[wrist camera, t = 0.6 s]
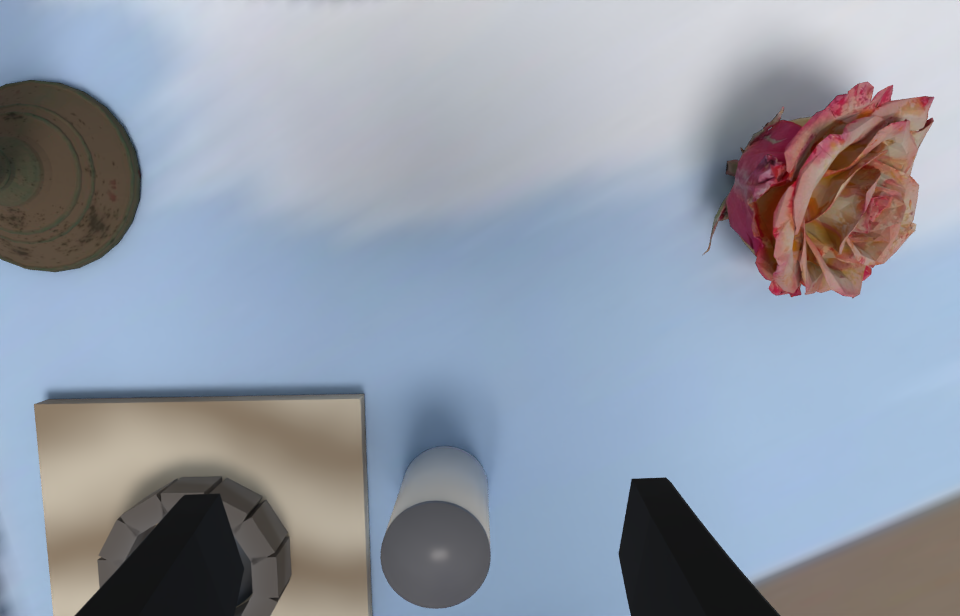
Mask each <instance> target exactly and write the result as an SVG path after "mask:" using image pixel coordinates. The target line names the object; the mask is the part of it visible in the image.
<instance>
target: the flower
mask: <svg viewBox="0 0 960 616" xmlns="http://www.w3.org/2000/svg"><path fill="white" fill-rule="evenodd" d="M873 89H874V87H873V86H872V85H871V84H870V83H869V82H864V83H859V84H857V85H856V86H854V87H853V88H852V89H851V90H849V91H848V94H843V95H838V96H836V97H835V98H834V100H833V101H832V102H831V103H830V104H829V105H828V106H827V107H826V108H825V109H824V110H822V111H819V112H817V113H816V114H815V115H814V116H812V117H806V118H799V119H795V120H791V121H785V120H780V119H781V115H782V114H783V111H784V107H782V109H781V111H780V112H779V113H778V114H777V115H776V117H775V118H774V119H773V120H772V121H771V122H770V123H769V122H768V123H769V124H768V123H767V124H766V125H765V127H763V126H762V127H763V130H761V131H759V132H757V133H755V134H754V135H753V136H752V138H751V140H750V142H749V143H748V145H747V147H746V149H745V150H743V149H742V148H741V151H742V156H741V158H740V160H730V161H727V167H726V174H728V175H731V176H734V177H735V183H734V185H733V187H732V189H731V191H730V193H729V194H728V196H727V197H726V198H725V199H724V201H723V203H722V204H721V206H720V208H719V210H718V212H717V214H716V216H715V218H714V222H713V227H712V233H711V238H710V243H709V247H708V250H707V251H706V252H708V251H709V249H710V245H711V239H712V236H713V234H714V231H715V229H716V226H717V224H718V221H723V220H726V219H729V222H730V226H731V227H732V228H733V229H734V230H735V231H736V232H737V233H738V234H739V236H740V237H741V239H742V240H743V242H744V243H745V244H746V245H747V247H748V248H749V249H750V250H751V251H752V252H753V253H754V255H755V256H756V257H757V259H756V262H755V263H756V265H757V268H758V270H759V272H760V273H761V275H762V276H763V277H764V278H765V279H766V280H770V281H772V282H771V284H770V286H769V290H770V291H771V292H772V293H773V294H775V295H783V294H790V296H791V297H793V296H798V295H801V291H800V286H801V284H802V285H804V286H805V287H806V293H805V295H807V294H812V293H815V292H816V291H817V292H819V293H822V292H825V291H829V290H834V291H835V292H837V293H839V294H841V295H843V296H849V297H852V298H854V297H856V296H857V295H859V294H860V290H861V285H862V281H864V280H865V279H866V278H867V277H869V276H870V275H871V271H872V270H871V267H872V268H873V267H874V266H875V265H879V264H883V263H885V262H886V261H887V260H888V259H889V258H890V257H891V256H892V255H893V254H894V253H895V252H896V251H897V250H898V249H899V248H900V247H901V245H902V244H903V243H904V242H905V241H906V239H907V238H908V237H909V236H910V235H911V234H912V233H913V232H914V231H915V228H916V224H914V223H913V222H912V221H913V220H914V214H915V208H916V203H917V197H918V189H919V185H918V184H917V182H916V181H915V180H914V179H913V178H912V177H911V176H910V175H911V170H912V166H913V162H914V159H915V157H916V154H917V151H918V148H919V146H920V144H921V142H922V140H923V139H924V137H925V135H926V133H927V132H928V130H929V128H930V127H931V125H932V123H933V121H934V120H933V118H931V119H929V120H927V118H928V111H929V108H930V106H931V103H932V101H933V99H934V97H928V96H923V97H916V98H908V99H901V100H894V101H891V95H892V91H893V85H891V86H888V87H886V88H885V89H883V90H881V91H879V92H878V93H877V94H876V95H875V97H874V98H873V99H872V101H871V98H872V94H873ZM829 108H830V109H829ZM779 120H780V121H779ZM771 127H772V128H771ZM769 128H771V129H770V130H768V129H769ZM917 130H919V131H917ZM706 252H705V253H706ZM705 253H704V254H705ZM780 292H781V293H780Z"/></svg>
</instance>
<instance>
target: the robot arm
mask: <svg viewBox="0 0 960 616" xmlns="http://www.w3.org/2000/svg"><path fill="white" fill-rule="evenodd" d="M619 558H620V564H621V569H622V574H623V579H624V585H625V589H626V594H627V599H628V604H629V609H630V613H631V616H780V615H779V614H778V613H777V611H776V610H775V609H774V608H773V607H772V606H771V605H770V604H769V602H768V601H767V600H766V599H765V598H764V597H763V596H762V595H761V593H760V592H759V591H758V590H757V589H756V588H755V586H754V585H753V584H752V583H751V582H750V581H749V579H748V578H747V577H746V576H745V575H744V574H743V572H742V571H741V570H740V569H739V568H738V567H737V565H736V564H735V563H734V562H733V561H732V560H731V558H730V557H729V556H728V555H727V554H726V552H725V551H724V550H723V549H722V547H721V546H720V545H719V544H718V542H717V541H716V540H715V539H714V537H713V536H712V535H711V534H710V532H709V531H708V530H707V529H706V527H705V526H704V525H703V524H702V522H701V521H700V520H699V519H698V517H697V516H696V515H695V513H694V512H693V511H692V509H691V508H690V507H689V506H688V504H687V503H686V502H685V500H684V499H683V498H682V496H681V495H680V494H679V492H678V491H677V490H676V488H675V487H674V486H673V484H672V483H671V482H670V481H669V480H668V479H667V478H642V479H632V481H631V486H630V492H629V498H628V504H627V509H626V515H625V521H624V526H623V532H622V538H621V544H620V549H619ZM243 573H244V566H243V563H242V560H241V557H240V554H239V551H238V548H237V545H236V542H235V539H234V535H233V532H232V529H231V526H230V523H229V520H228V517H227V514H226V511H225V508H224V505H223V502H222V498H221V495H220V493H219V494H191V495H184V496H183V497H182V498H181V499H180V500H179V501H178V502H177V503H176V504H175V505H174V506H173V507H172V508H171V509H170V511H169V512H168V513H167V514H166V515H165V516H164V517H163V518H162V520H161V521H160V522H159V523H158V524H157V525H156V526H155V528H154V529H153V530H152V531H151V532H150V533H149V534H148V535H147V537H146V538H145V539H144V540H143V541H142V542H141V543H140V544H139V546H138V547H137V548H136V549H135V550H134V551H133V552H132V553H131V555H130V556H129V557H128V558H127V559H126V560H125V561H124V562H123V564H122V565H121V566H120V567H119V568H118V569H117V570H116V571H115V572H114V573H113V575H112V576H111V577H110V578H109V579H108V580H107V581H106V582H105V583H104V584H103V585H102V586H101V588H100V589H99V590H98V591H97V592H96V593H95V594H94V595H93V596H92V597H91V598H90V599H89V600H88V602H87V603H86V604H85V605H84V606H83V607H82V608H81V609H80V610H79V611H78V612H77V613H76V614H75V616H234V614H235V610H236V605H237V601H238V596H239V592H240V587H241V582H242V577H243Z"/></svg>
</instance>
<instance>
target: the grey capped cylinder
mask: <svg viewBox="0 0 960 616" xmlns="http://www.w3.org/2000/svg"><path fill="white" fill-rule="evenodd" d="M381 565H382V569H383V573H384V575H385V578H386V579H387V581H388V583H389V584H390V586H391V587H392V588H393V590H394V591H395V592H396V593H397V594H398V595H400V596H401V597H402V598H403V599H405V600H407V601H408V602H410V603H413V604H415V605H418V606H421V607H425V608H436V609H438V608H446V607H451V606H454V605H457V604H459V603H461V602H463V601H465V600H467V599H468V598H470V597H471V596H472V595H473V594H474V593H475V592H476V591H477V590H478V589H479V588H480V586H481V585H482V583H483V582H484V580H485V578H486V576H487V573H488V570H489V566H490V528H489V499H488V481H487V476H486V474H485V471H484V469H483V467H482V466H481V464H480V463H479V462H478V460H477V459H476V458H475V457H473V456H472V455H471V454H469V453H468V452H466V451H464V450H462V449H459V448H456V447H451V446H440V447H434V448H431V449H428V450H426V451H424V452H422V453H421V454H419V455H418V456H417V457H416V458H415V459H414V460H413V461H412V462H411V463H410V465H409V467H408V468H407V470H406V472H405V475H404V478H403V481H402V484H401V488H400V491H399V494H398V497H397V500H396V503H395V506H394V509H393V512H392V515H391V518H390V521H389V524H388V527H387V530H386V533H385V536H384V539H383V542H382V547H381Z"/></svg>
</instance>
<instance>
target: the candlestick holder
mask: <svg viewBox="0 0 960 616" xmlns="http://www.w3.org/2000/svg"><path fill="white" fill-rule="evenodd" d="M140 177H141V175H140V170H139V166H138V161H137V156H136V152H135V149H134V147H133V145H132V143H131V141H130V139H129V137H128V135H127V133H126V131H125V129H124V128H123V126H122V125H121V124H120V123H119V122H118V121H117V119H116V118H115V117H114V116H113V115H112V114H111V112H110V111H109V110H108V109H107V108H106V107H105V106H104V105H102V104H101V103H99V102H98V101H96V100H95V99H94V98H92V97H91V96H89V95H88V94H87V93H85V92H83V91H80V90H77V89H75V88H72V87H69V86H67V85H64V84H62V83H55V82H46V81H36V80H28V81H22V82H17V83H11V84H5V85H3V86H1V87H0V259H2V260H4V261H7V262H9V263H12V264H15V265H17V266H20V267H23V268H26V269H30V270H40V271H50V272H59V271H65V270H71V269H77V268H80V267H83V266H85V265H87V264H89V263H91V262H93V261H95V260H98V259H100V258H102V257H103V256H104V255H105V254H106V253H107V252H109V251H110V250H111V249H112V248H113V247H114V246H116V245H117V244H118V243H119V242H120V240H121V239H122V237H123V236H124V234H125V233H126V231H127V230H128V228H129V227H130V225H131V224H132V222H133V219H134V215H135V212H136V209H137V206H138V203H139V200H140Z"/></svg>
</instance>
